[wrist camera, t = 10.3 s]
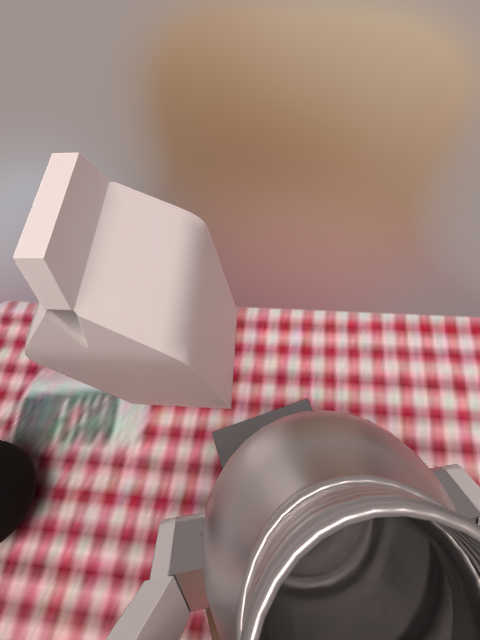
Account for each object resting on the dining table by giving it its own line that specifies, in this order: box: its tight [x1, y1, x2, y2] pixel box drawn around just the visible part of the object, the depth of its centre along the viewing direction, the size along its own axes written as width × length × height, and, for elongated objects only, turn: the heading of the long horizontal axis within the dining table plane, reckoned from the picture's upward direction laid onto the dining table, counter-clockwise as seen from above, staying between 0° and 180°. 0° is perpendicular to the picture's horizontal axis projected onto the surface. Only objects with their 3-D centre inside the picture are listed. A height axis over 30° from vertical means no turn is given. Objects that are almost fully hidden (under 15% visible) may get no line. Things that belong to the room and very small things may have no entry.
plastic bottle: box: [201, 410, 480, 640], centre depth 12 cm, size 6×7×20 cm
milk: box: [13, 153, 237, 409], centre depth 26 cm, size 12×12×26 cm
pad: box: [212, 399, 312, 469], centre depth 32 cm, size 11×11×1 cm
